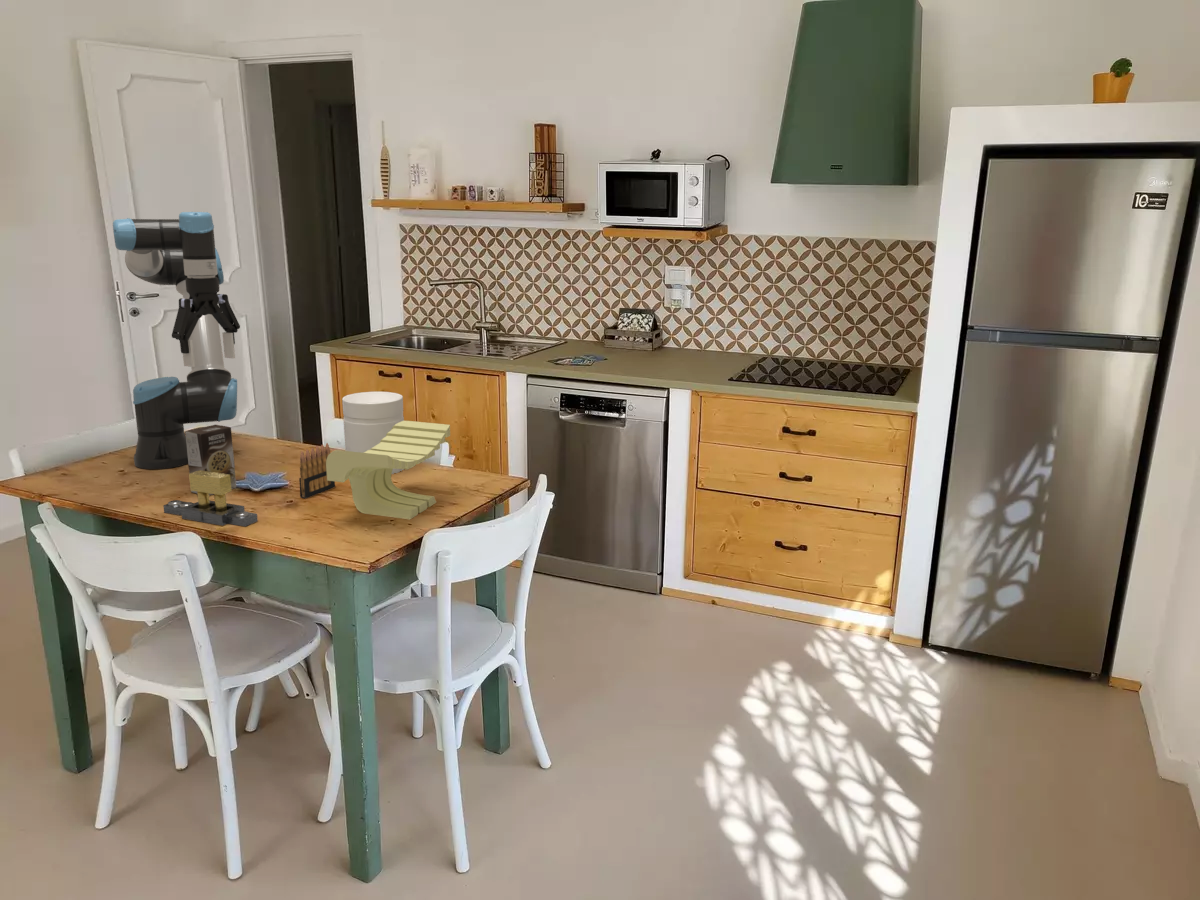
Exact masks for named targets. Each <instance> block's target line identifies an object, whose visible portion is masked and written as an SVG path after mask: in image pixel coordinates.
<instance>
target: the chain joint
mask: <svg viewBox="0 0 1200 900" xmlns="http://www.w3.org/2000/svg"><path fill="white" fill-rule="evenodd" d="M226 504H227V510H226V511H224V512H216V507H215V500H210V508H207V509H205V510H204V509H199V503H198V501H196V502H192V501H183V500H180V499H179V500H178V499H176V500H175V499H174V500H169V501H167V503H166V504H164V505H162V506H163V513H164V514H170V515H177V516H181V518H182V519H183V520H189V521H194V522H201V523H205V524H211V525H218V526H222V527H223V526H226V525H233V526H240V527H248V526H250V525H253V524H255V523H256V522H258V521H259V520H258V513H256V512H249V511H246V510H245V505H239V504H234V503H227V502H226Z"/></svg>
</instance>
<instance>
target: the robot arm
mask: <svg viewBox="0 0 1200 900" xmlns="http://www.w3.org/2000/svg"><path fill="white" fill-rule="evenodd" d="M214 228H215V225H214V221H213V216H212V214H211V213H210V212H208V211H182V212H180V213H179V215H178V219H177V218H172V219H171V218H169V219H168V218H166V219H165V218H163V219H158V218H157V219H156V218H146V219H145V218H130V217H127V218H123V219H121V218H119V219H117V218H116V219H114V220H113V222H112V230H113V239H114V245H115V248H116V249H117V251H125V253H124V263H125V265H126V268H127V269H128V271H129V272H130V273H131V274H132V275H133V276H134V277H137V279H140V280H143V282H147V283H151V284H154V285H160V286H175V290H176V292H177V293H179V294H180V295H182V298H179V299H178V310H177V314H176V317H175V322H174V326H173V329H172V333H171V338H172V339H175V340H177V341H179V347H180V352H181V354H182V359H183V366H184V367H190V368H191V371H190V372H189V373H187V375H186V381H180V379H179V377H176V376H163V377H158V378H156V377H155V378H153V379H148V380H144V381H142V382H139V383H137V384H136V385H135V386H134V387H133V390H132V393H133V394H132V395H133V401H132V404H133V405H134V411H135V421H136V429H137V442H136V447H135V453H134V455H133V462H134V463H133V464H134V466H135V467H137V468H139V469H143V470H144V469H145V470H160V469H161V470H162V469H171V468H176V467H182V466H185V465H189V464H188V454H187V444H186V433H185V428H184V427H185V426H184V425H185V424H187V425H188V424H198V423H199V424H200V423H213V422H217V423H219V422H223V421H229V420H233V419H234V418H236V416H237V414H238V413H237V411H238V379H237V378H234V377H233V378H232V373H231V371H229V370H228V369H226V368H225V364H224V358H226V359H236V354H235V351H236V350H235V344H236V341H235V333H238V330H239V329H240V328H241V325H240V323H239V321H238V318H237V317H236V315H235V313H234V311H233V308H232V305H230V301H229V296H228V295H227V294H224V293H219V292H220V286H221V285H222V284H224V283H225V282H224V281H225V279H224V271H223V267H222V262H221V258H220V255H219V252H218V249H216V241H215V232H214ZM220 327H221V328H222V329H223V331H224V332H222V339H221V332H220ZM222 343H223V347H222ZM223 352H224V356H223Z"/></svg>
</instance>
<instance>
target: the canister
mask: <svg viewBox="0 0 1200 900" xmlns="http://www.w3.org/2000/svg"><path fill="white" fill-rule="evenodd" d="M341 400H342V401H341V403H342V414H343V435H344V449H345V450H344V451H352V452H361V453H363V452H366V451H367V450H371V448H373V447H374V446H376V445H377V444H379V443H380V441H381V440H382V439H383V438H384V437H386V434H387V433H388V432H389V431H391V429H392V427H393V426H394V425H395V424H397V423H399V422H401V421H405V419H404V396H403V395H402V394H400V393H398V392H390V391H363V392H355V393H350V394H347V395H344V396H343V397H342V399H341ZM402 470H403V471H404V470H405V469H393V470H392V474H391V475H395V474H394V473H396V474H398V473H400V471H401V472H402Z"/></svg>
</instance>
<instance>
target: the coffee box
mask: <svg viewBox="0 0 1200 900" xmlns="http://www.w3.org/2000/svg"><path fill="white" fill-rule="evenodd" d="M184 433H185V436H186V444H187V454H188V464H187V465H188V475H189V474H190V473H193V472H196V471H198V470H202V471H208V472H215V473H222V474H228V475H230V480H231V490H233V489H236V488H237V480H236V469H235V467H236V466H235V459H234V456H235V455H234V447H233V437H232V436H233V435H232V427H230V426H227V425H219V424H212V425H208V426H202V427H197V428H194V429H188V430H184ZM190 492H191V493H192V494H193V493H194V494H197V491H192V490H191V489H190ZM212 495H213V494H210V493H209V496H212Z"/></svg>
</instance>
